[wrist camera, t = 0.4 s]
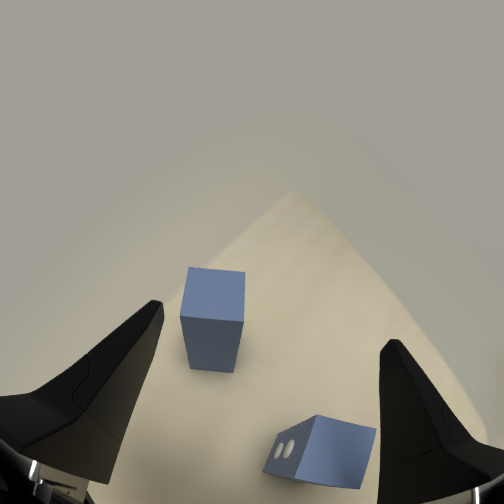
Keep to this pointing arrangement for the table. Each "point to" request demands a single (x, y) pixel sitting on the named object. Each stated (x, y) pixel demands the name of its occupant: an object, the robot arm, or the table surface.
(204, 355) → the blue block
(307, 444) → the two pip tile
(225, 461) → the table surface
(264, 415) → the table surface
